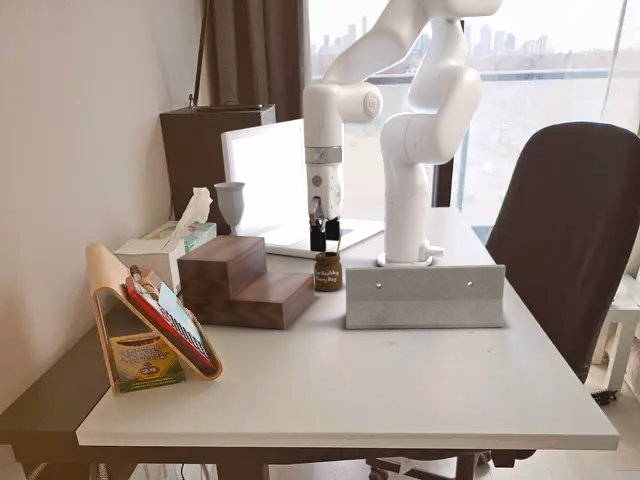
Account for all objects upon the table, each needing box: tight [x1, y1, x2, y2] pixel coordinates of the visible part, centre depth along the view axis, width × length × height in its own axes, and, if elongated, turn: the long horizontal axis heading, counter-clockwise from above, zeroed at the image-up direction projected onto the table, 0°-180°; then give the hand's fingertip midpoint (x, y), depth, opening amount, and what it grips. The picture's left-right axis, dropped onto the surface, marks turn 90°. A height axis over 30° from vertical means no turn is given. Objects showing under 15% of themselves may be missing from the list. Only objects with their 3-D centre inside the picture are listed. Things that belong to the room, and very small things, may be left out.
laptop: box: [220, 118, 384, 260], centre depth 169 cm, size 34×28×28 cm
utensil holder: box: [313, 229, 343, 292], centre depth 135 cm, size 6×6×12 cm
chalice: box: [213, 182, 245, 236], centre depth 154 cm, size 7×7×18 cm
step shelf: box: [176, 234, 316, 330], centre depth 125 cm, size 20×18×12 cm
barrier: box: [345, 264, 507, 330], centre depth 116 cm, size 28×7×10 cm, turn 86°
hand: (325, 245), depth 133 cm, fingers open, 9 cm apart
